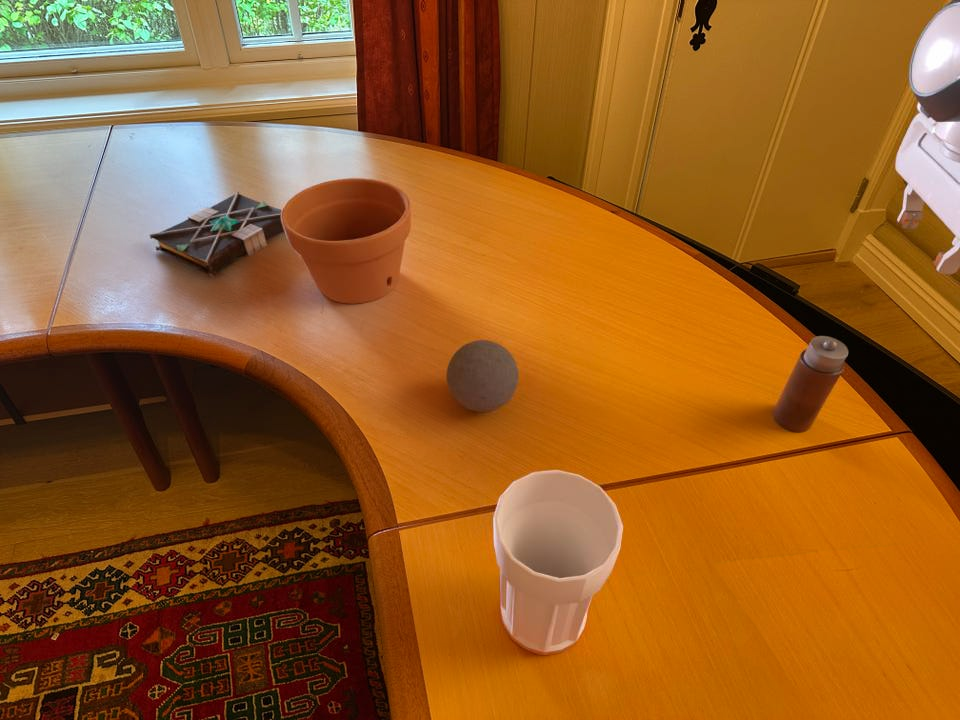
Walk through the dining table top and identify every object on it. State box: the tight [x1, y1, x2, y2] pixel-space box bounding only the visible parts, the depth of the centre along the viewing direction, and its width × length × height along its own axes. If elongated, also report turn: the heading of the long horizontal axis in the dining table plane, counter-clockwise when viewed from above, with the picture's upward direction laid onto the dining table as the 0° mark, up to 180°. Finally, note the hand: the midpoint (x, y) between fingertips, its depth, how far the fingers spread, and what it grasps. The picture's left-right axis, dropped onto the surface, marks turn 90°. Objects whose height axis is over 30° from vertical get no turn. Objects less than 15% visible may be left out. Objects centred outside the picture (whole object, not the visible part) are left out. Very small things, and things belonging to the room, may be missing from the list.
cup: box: [492, 469, 624, 656], centre depth 59 cm, size 11×11×17 cm
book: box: [149, 190, 285, 279], centre depth 118 cm, size 22×17×5 cm
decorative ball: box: [446, 339, 519, 413], centre depth 84 cm, size 10×10×10 cm
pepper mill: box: [772, 335, 849, 433], centre depth 80 cm, size 5×5×14 cm
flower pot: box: [281, 177, 412, 305], centre depth 104 cm, size 21×21×15 cm
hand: (923, 246), depth 68 cm, fingers open, 8 cm apart
